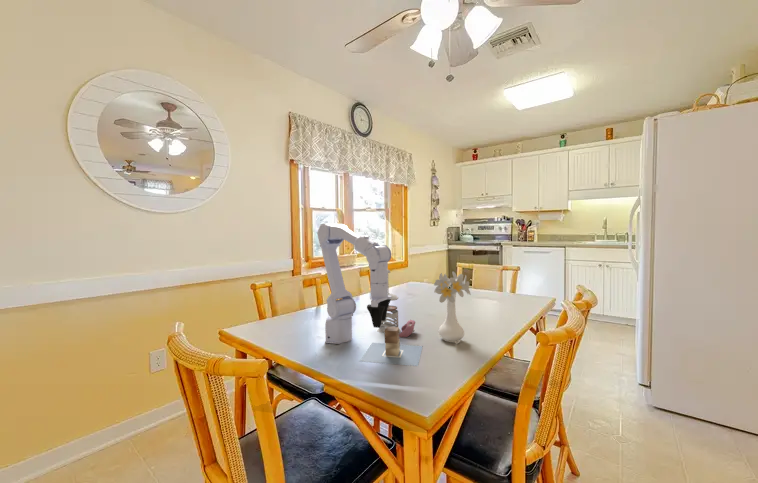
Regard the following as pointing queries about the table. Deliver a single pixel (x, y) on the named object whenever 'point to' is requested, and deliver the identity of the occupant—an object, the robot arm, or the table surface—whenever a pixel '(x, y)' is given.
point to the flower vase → (451, 305)
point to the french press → (390, 315)
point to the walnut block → (392, 335)
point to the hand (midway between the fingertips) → (379, 323)
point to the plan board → (405, 357)
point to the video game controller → (407, 329)
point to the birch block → (392, 348)
